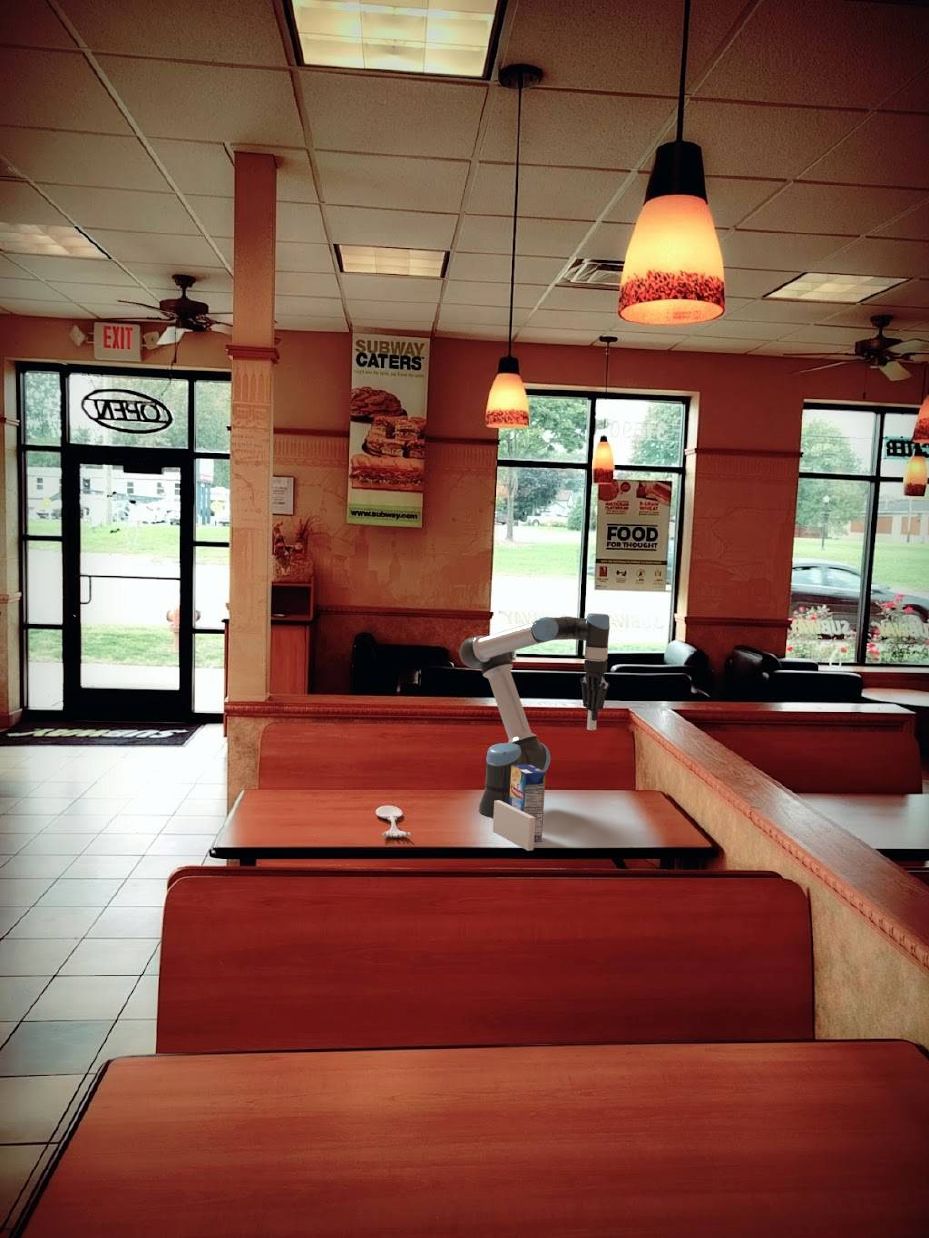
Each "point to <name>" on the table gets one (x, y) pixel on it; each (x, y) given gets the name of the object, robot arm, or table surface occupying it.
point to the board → (514, 825)
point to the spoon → (392, 815)
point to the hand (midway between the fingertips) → (591, 729)
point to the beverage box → (529, 793)
